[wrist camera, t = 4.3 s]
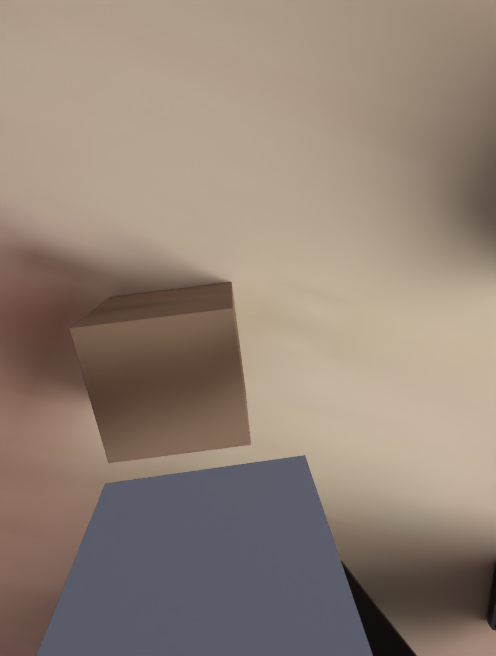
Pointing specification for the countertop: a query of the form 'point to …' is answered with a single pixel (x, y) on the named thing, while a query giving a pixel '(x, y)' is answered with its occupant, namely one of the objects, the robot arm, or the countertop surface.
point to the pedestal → (165, 372)
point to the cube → (209, 570)
